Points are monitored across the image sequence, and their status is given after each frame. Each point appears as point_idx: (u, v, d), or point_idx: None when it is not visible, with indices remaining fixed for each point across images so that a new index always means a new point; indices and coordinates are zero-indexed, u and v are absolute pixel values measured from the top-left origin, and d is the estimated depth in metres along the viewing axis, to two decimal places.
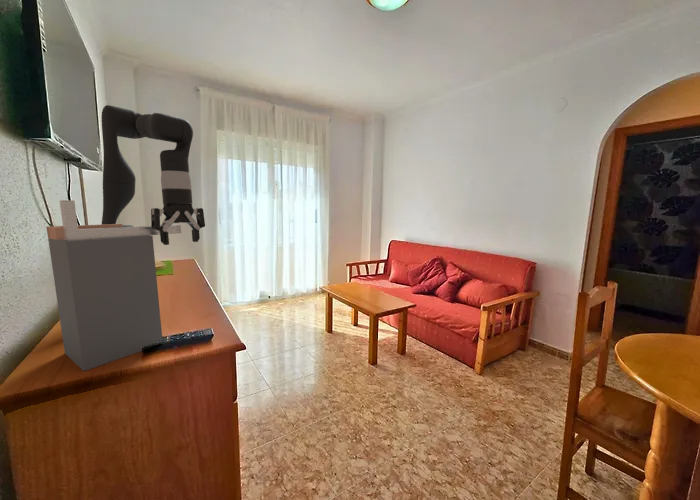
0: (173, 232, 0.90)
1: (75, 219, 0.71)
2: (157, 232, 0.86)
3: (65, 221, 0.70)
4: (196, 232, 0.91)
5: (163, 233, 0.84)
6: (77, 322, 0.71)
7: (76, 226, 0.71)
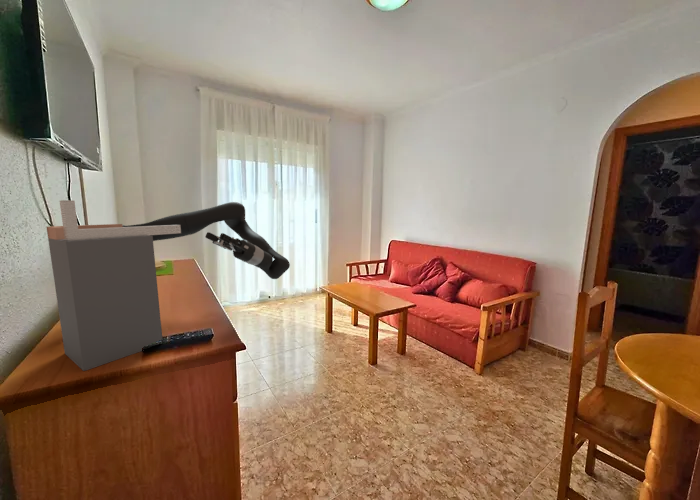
0: (173, 232, 0.90)
1: (75, 219, 0.71)
2: (157, 232, 0.86)
3: (65, 221, 0.70)
4: (212, 240, 1.06)
5: (229, 241, 1.02)
6: (77, 322, 0.71)
7: (76, 226, 0.71)
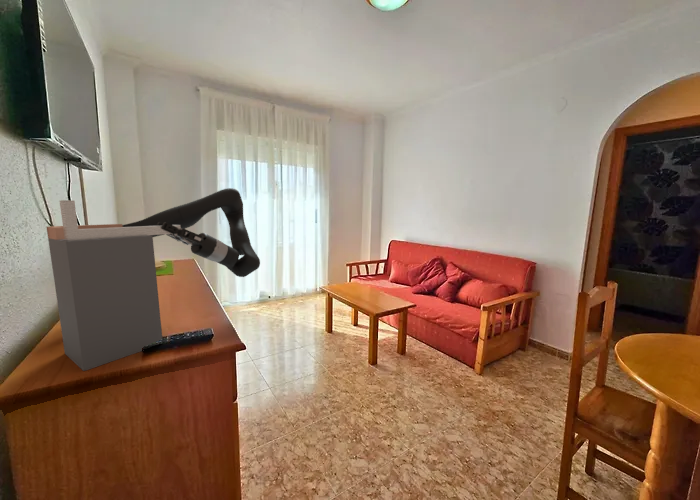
0: None
1: (75, 219, 0.71)
2: (157, 232, 0.86)
3: (65, 221, 0.70)
4: None
5: (173, 232, 0.89)
6: (77, 322, 0.71)
7: (76, 226, 0.71)
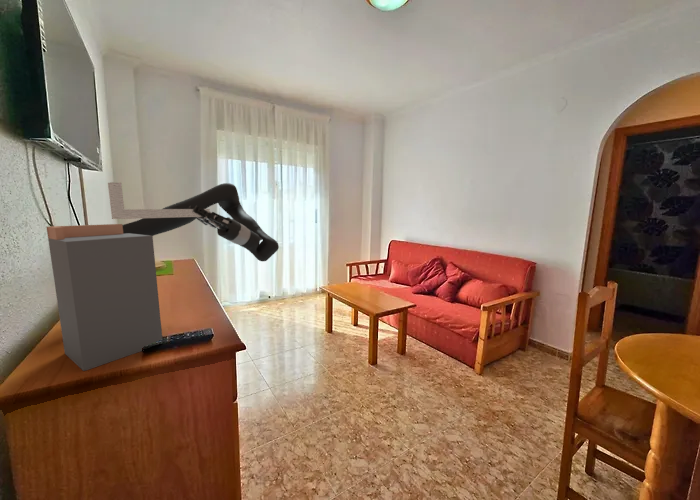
0: None
1: (122, 200, 0.79)
2: (190, 214, 0.94)
3: (113, 201, 0.77)
4: None
5: (204, 215, 0.96)
6: (77, 322, 0.71)
7: (122, 206, 0.79)
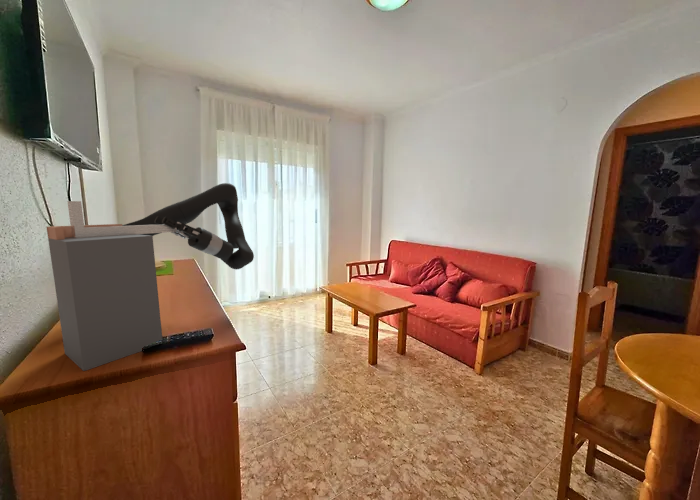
0: (171, 230, 0.96)
1: (82, 218, 0.78)
2: (157, 230, 0.93)
3: (72, 220, 0.77)
4: None
5: (173, 226, 0.95)
6: (77, 322, 0.71)
7: (82, 225, 0.78)
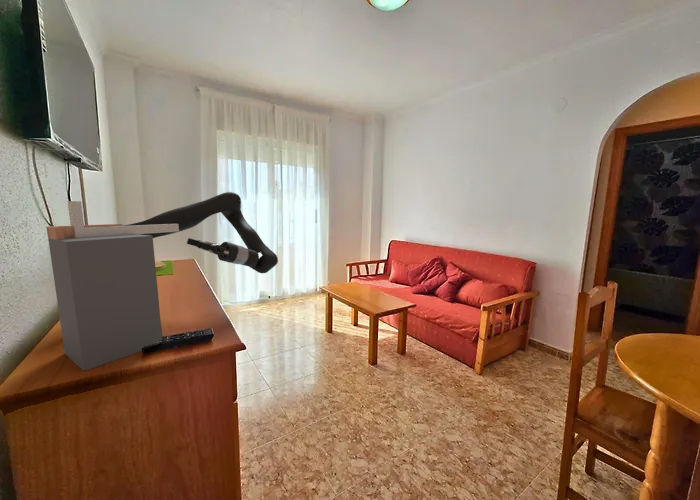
0: (171, 230, 0.96)
1: (82, 218, 0.78)
2: (157, 230, 0.93)
3: (72, 220, 0.77)
4: (194, 245, 1.09)
5: (207, 249, 1.04)
6: (77, 322, 0.71)
7: (82, 225, 0.78)
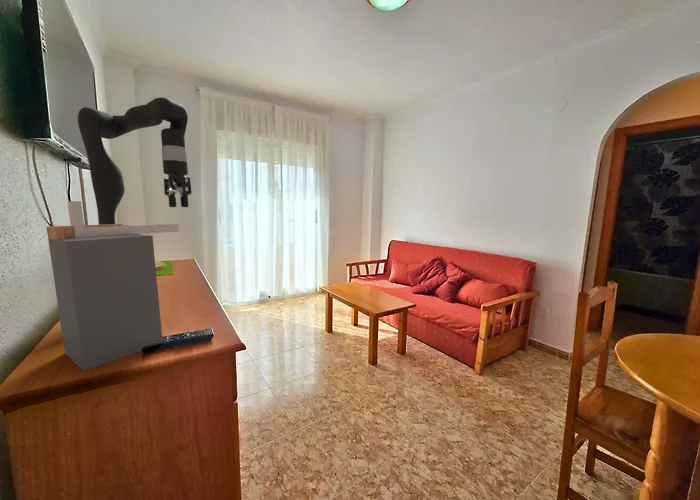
0: (171, 230, 0.96)
1: (82, 218, 0.78)
2: (157, 230, 0.93)
3: (72, 220, 0.77)
4: None
5: None
6: (77, 322, 0.71)
7: (82, 225, 0.78)
